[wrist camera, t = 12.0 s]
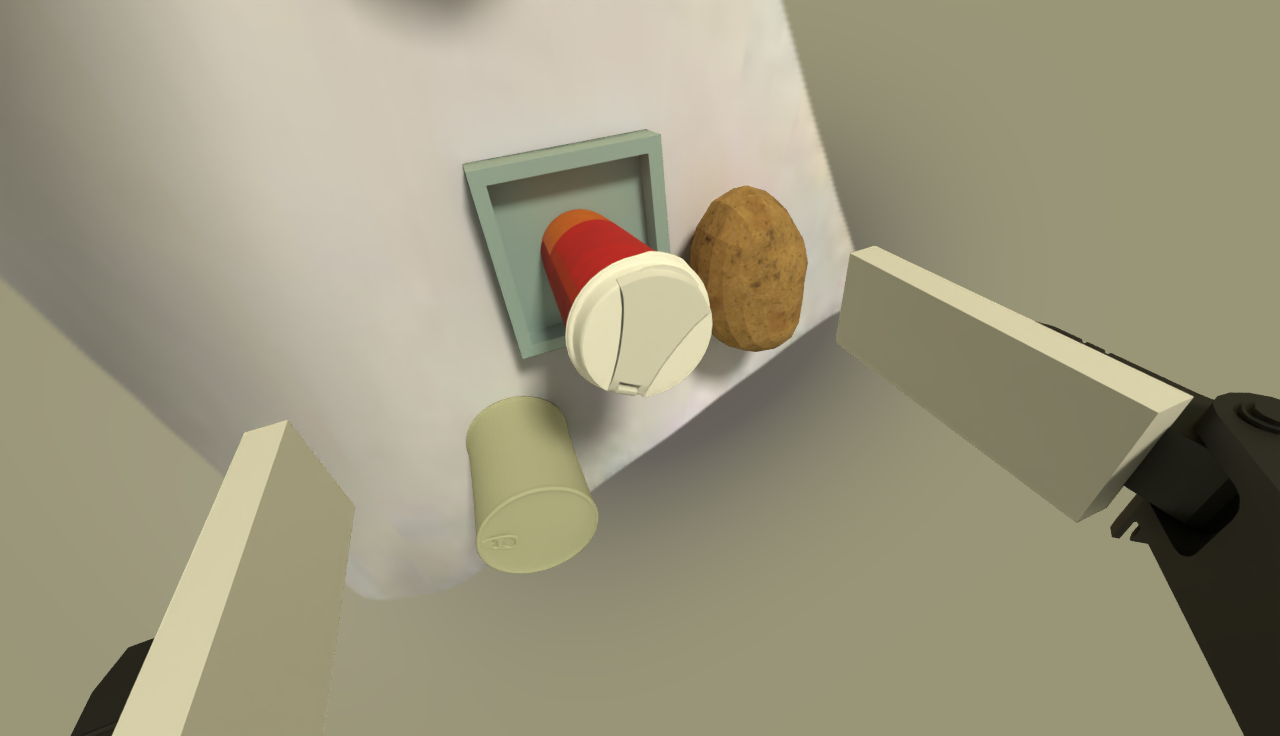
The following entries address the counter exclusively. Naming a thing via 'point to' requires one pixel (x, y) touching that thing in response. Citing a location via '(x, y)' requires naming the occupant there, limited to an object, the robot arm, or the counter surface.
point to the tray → (547, 187)
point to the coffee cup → (624, 305)
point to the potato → (750, 269)
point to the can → (527, 487)
